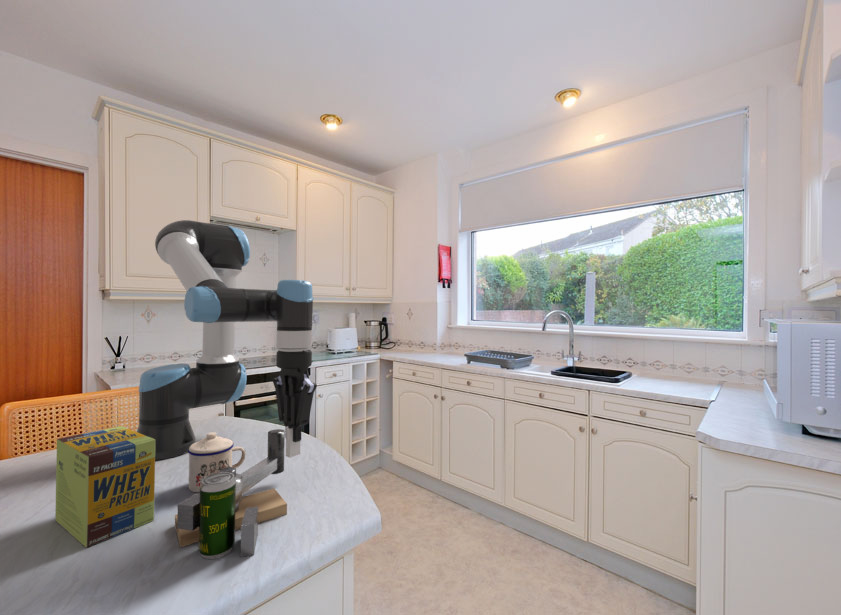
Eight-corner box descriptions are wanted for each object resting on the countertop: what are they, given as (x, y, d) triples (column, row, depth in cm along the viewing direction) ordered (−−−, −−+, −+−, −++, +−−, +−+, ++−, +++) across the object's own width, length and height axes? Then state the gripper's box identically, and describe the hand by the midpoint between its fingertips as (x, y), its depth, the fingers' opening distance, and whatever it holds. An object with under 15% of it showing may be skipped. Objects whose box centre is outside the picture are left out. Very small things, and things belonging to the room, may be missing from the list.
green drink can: (226, 536, 69) (227, 469, 69) (240, 549, 65) (241, 478, 65) (193, 550, 65) (194, 479, 65) (206, 565, 61) (207, 489, 61)
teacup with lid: (192, 498, 82) (193, 443, 82) (183, 483, 89) (184, 432, 89) (251, 482, 90) (252, 431, 90) (239, 469, 97) (239, 422, 97)
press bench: (174, 525, 72) (175, 514, 72) (274, 497, 83) (274, 488, 83) (180, 547, 66) (180, 535, 66) (286, 513, 77) (287, 503, 77)
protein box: (86, 549, 65) (87, 456, 65) (54, 520, 73) (55, 438, 73) (155, 520, 74) (157, 438, 74) (120, 498, 82) (121, 424, 82)
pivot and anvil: (213, 519, 74) (214, 469, 74) (244, 511, 77) (244, 462, 77) (231, 562, 62) (232, 502, 62) (267, 550, 65) (268, 492, 65)
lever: (198, 537, 63) (199, 482, 63) (171, 533, 64) (172, 479, 64) (290, 468, 91) (290, 430, 90) (270, 466, 92) (270, 428, 92)
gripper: (327, 350, 86) (325, 456, 86) (291, 346, 94) (289, 444, 94) (298, 353, 80) (296, 467, 80) (262, 348, 88) (261, 453, 88)
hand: (293, 454), depth 87 cm, fingers closed
